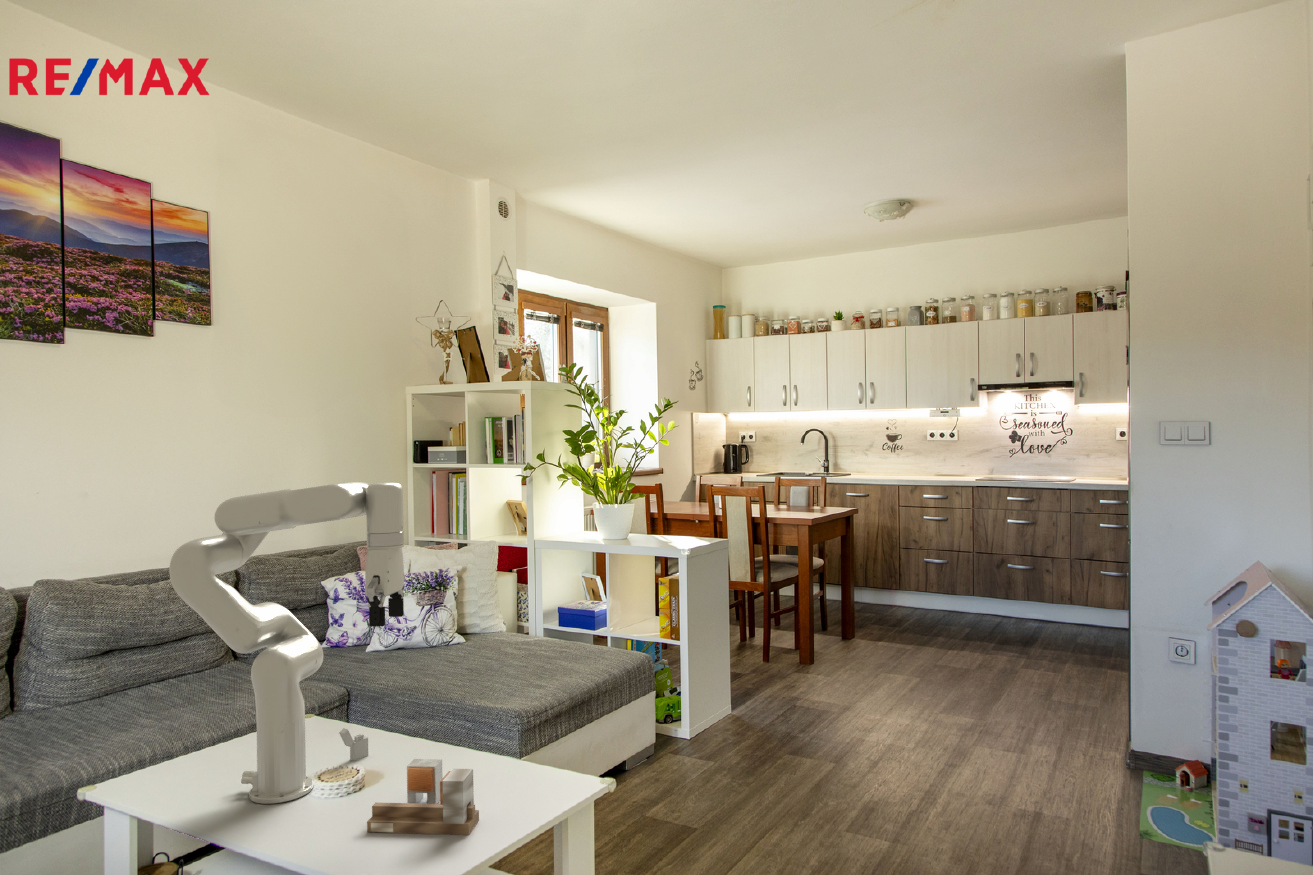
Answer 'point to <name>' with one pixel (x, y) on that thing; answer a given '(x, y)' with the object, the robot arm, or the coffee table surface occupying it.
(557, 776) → the coffee table surface
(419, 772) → the white and wooden block
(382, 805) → the rail
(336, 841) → the coffee table surface
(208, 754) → the coffee table surface
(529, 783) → the coffee table surface
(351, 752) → the lighter
